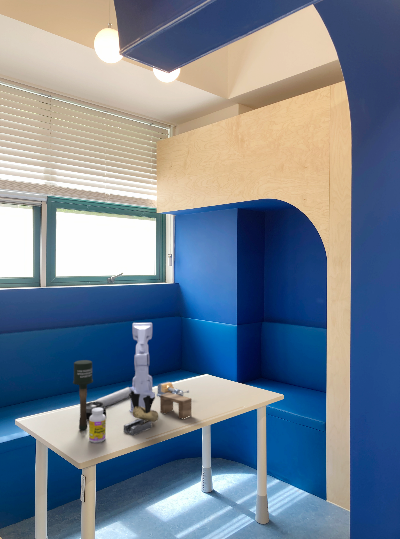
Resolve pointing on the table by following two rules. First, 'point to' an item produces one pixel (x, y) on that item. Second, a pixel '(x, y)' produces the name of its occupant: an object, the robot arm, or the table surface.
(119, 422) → the table surface
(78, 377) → the stick grenade
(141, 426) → the v block
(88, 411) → the cpu cooler
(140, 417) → the brass cylinder
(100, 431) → the supplement bottle
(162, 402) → the wooden bridge block
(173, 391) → the vise
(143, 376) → the robot arm
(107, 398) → the tube
